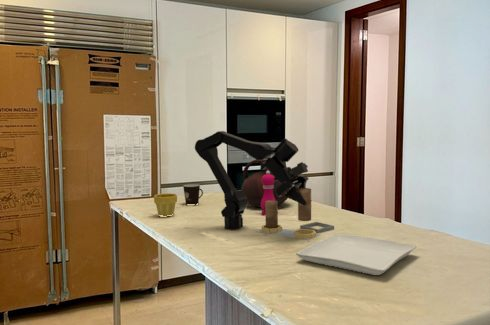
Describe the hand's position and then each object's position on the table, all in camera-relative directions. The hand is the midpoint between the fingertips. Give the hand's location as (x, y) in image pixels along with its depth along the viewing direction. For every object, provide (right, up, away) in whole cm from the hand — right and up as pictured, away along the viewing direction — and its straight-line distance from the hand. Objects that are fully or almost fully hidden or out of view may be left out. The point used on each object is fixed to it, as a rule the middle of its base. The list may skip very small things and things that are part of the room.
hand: (308, 203), depth 152 cm
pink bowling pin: (-11, -10, +45) cm, 48 cm away
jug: (-12, -8, +65) cm, 67 cm away
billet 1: (-12, -11, +11) cm, 20 cm away
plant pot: (-58, -10, +46) cm, 75 cm away
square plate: (+12, -16, -21) cm, 29 cm away
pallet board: (-7, -13, +6) cm, 16 cm away
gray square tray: (+5, -12, +11) cm, 17 cm away
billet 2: (-1, -6, +1) cm, 6 cm away
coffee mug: (-49, -8, +72) cm, 87 cm away
